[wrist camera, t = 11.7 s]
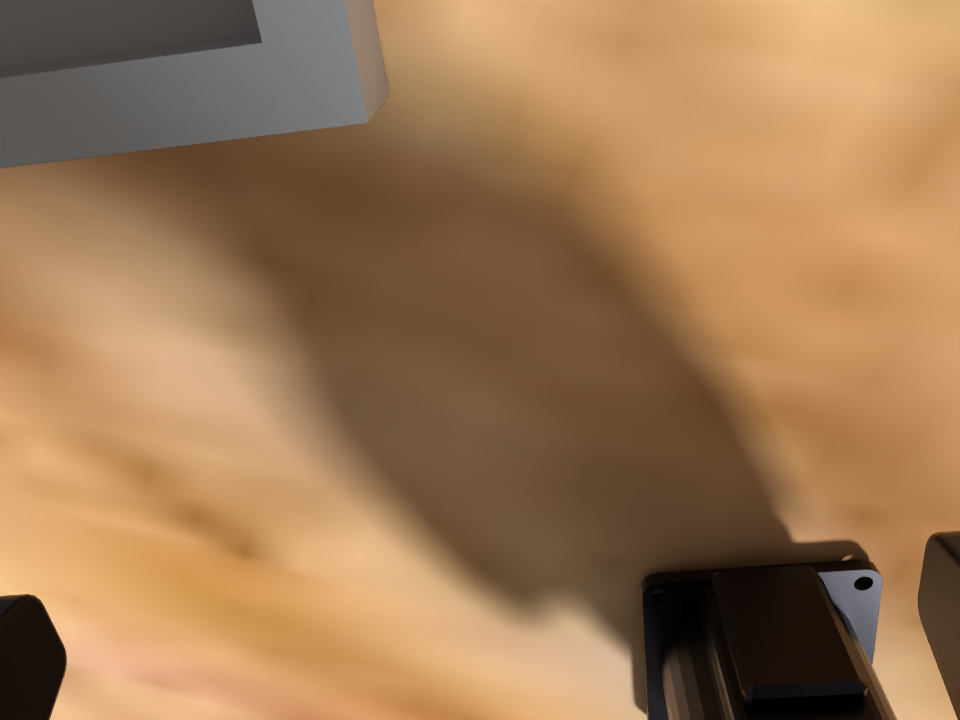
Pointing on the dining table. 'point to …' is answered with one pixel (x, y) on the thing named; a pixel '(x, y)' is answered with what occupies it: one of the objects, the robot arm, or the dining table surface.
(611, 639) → the dining table surface
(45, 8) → the tray
